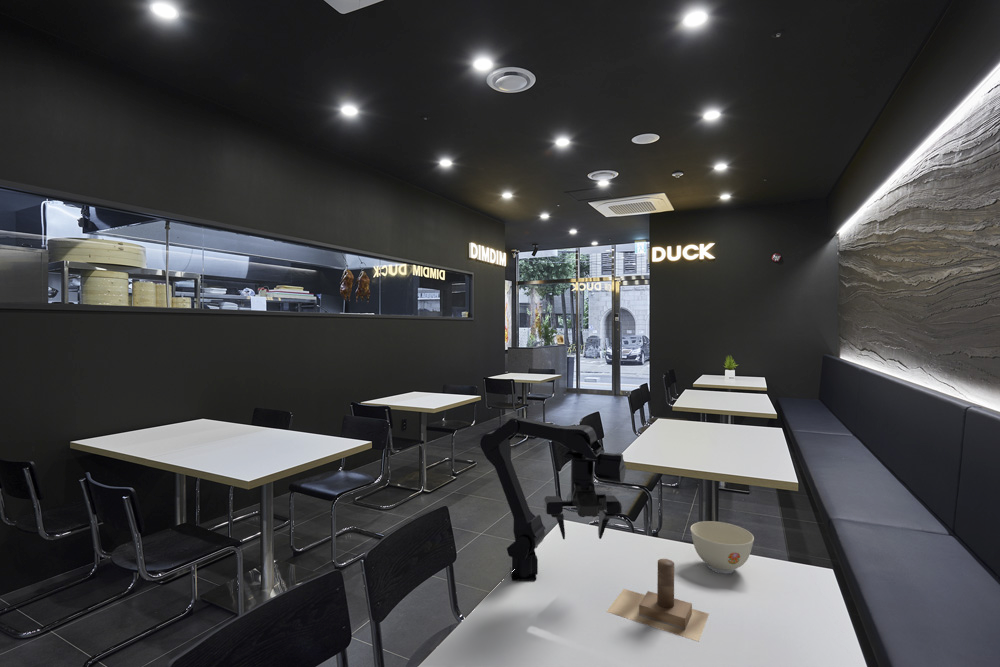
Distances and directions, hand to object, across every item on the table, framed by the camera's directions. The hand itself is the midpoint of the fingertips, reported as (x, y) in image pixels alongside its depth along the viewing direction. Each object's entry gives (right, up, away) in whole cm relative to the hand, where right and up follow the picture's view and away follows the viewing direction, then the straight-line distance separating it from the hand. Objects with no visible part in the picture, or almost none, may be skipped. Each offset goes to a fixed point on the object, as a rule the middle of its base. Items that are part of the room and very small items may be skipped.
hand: (581, 538), depth 126 cm
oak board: (+16, -13, -12) cm, 23 cm away
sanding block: (+17, -12, -12) cm, 24 cm away
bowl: (+40, -13, +12) cm, 44 cm away
